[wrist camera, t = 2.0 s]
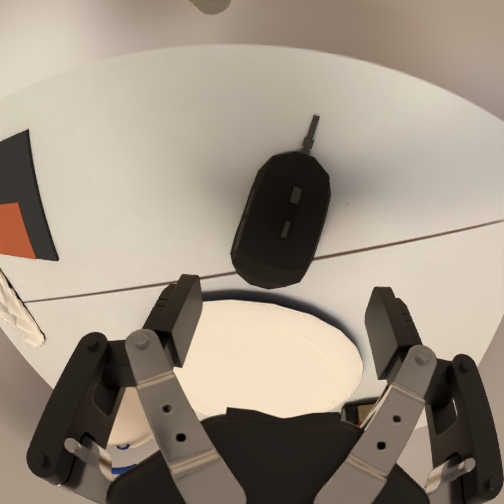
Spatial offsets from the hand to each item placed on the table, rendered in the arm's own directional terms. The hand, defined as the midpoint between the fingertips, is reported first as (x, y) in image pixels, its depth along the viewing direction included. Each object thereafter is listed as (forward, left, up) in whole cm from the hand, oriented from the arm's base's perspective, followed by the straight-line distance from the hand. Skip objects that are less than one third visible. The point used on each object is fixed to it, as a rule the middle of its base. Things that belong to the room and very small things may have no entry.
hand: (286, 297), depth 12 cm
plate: (+23, -3, -11) cm, 25 cm away
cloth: (+19, -50, -11) cm, 54 cm away
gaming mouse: (0, 0, -11) cm, 11 cm away
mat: (-1, -36, -10) cm, 38 cm away
